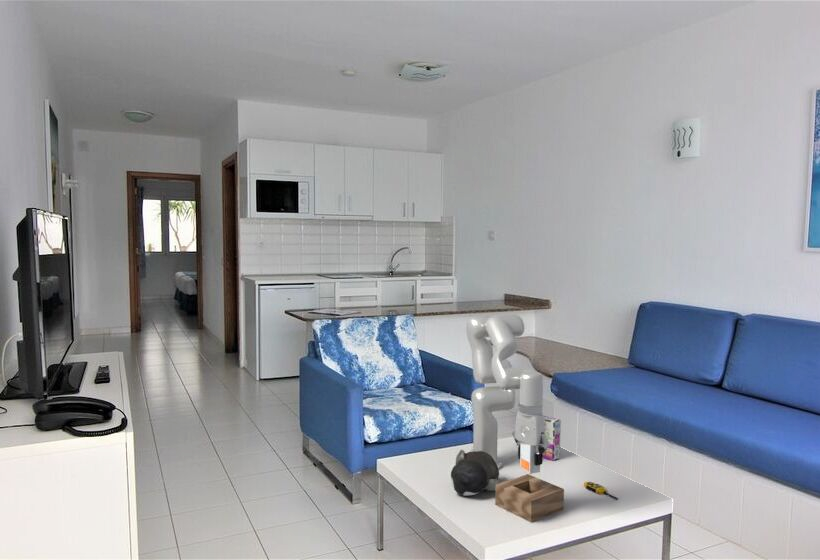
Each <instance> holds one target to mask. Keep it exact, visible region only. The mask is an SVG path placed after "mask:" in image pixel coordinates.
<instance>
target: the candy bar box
mask: <svg viewBox="0 0 820 560" xmlns="http://www.w3.org/2000/svg"><path fill="white" fill-rule="evenodd" d="M544 421H545V437H546V439H547V440H548V442H549V443H550V446H549V447H548V448H547V450H546V451H545V452H544V453H543V459H545V460H549V461H553V462H554V461H557V460H559V459H560V458H561V424H562V423H561V421H562V420H561V419H558V418H555V417H550V416H546V415H544ZM542 445H544V444H542Z"/></svg>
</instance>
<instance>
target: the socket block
mask: <svg viewBox="0 0 820 560" xmlns="http://www.w3.org/2000/svg"><path fill="white" fill-rule="evenodd" d="M494 493H495V497H494V498H495V500H494V504H495V506H497V507H499V508H501V509H503V510H505V511H507V512H509V513H510V514H513V515H516V516H518V517H519V518H521V519H523V520H525V521H527V522H529V523H533V522H536V521H538V520H541V519H543V518H545V517H548V516H550V515H553V514H555V513H558V512H560V511H563V510H564V508H565V506H564V505H565V503H564V502H565V501H564V500H565V499H564V498H565V488H563V487H560V486H557V485H555V484H554V483H551V482H549V481H546V480H544V479H541V478H539V477H536V476H534V475H532V474H529V473H527V474H524V475H521V476H518V477H514V478H511V479H509V480H506V481H502V483H499V484H496V491H494Z"/></svg>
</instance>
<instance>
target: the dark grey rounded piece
mask: <svg viewBox="0 0 820 560" xmlns="http://www.w3.org/2000/svg"><path fill="white" fill-rule="evenodd" d="M499 476H500V469H498V467H497V464H496V462H495V461H494V459H493V458H492V456H491V455H489V454H488V453H486V452H483V451H473V452H470V451H469V452H465V450H463V449H460V450H459V452H457V454H456V458H455V464H454V466H453V467H452V469H451V471H450V481H451V485H452V487H453V489H454V491H455V492H456V494H457V495H459V496H465V497H466V496H473V495H477V494H479V493H481V492H483V491H484V490H487V491H489V492H495V491H496V484H499V483H502V482H503V481H502V480H500V479H499Z"/></svg>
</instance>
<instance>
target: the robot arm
mask: <svg viewBox="0 0 820 560" xmlns="http://www.w3.org/2000/svg"><path fill="white" fill-rule="evenodd" d="M465 327H466V329H465V331H466V337H467V339H468V340H467V341H468V343H469V347H470V348H471V359H472V373H473V379H474V381H475V382H476V383H478V384H483V385H484V384H497V385H498V386H484V387H483V386H482V387H478V388H476V389H474V390H473V391H472V392H471V398H470V401H471V406H472V414H473V424H472V425H473V433H472V434H473V440H472V441H473V442H472V444H473V445H472V446H473V447H472V448H473V449H470V451H469V452H473V451H483V452H486V453H488V454H489V455H491V456H492V458H493V459H494V461H495V462H496V464H497V467H498V469H499V470H500V469H501V467H502V462H501V461H499V460H498V428H499V427H498V426H499V425H498V420H497V419H496V417H495V416H494V414H493V412H500V411H501V412H502V411H510V410H512V409H514V408H515V405H516V390H519V402H518V404H517V405H518V407H519V410H518V411H517V412H516V417H515V426H514V431H512V433H511V434H512V437H513V439H514V441H515V443H516V447H517V459H518V460H520V444H521V442H523V443H525V444H529V445H531V446H534V447H535V450H536V454H535V465H536V466H538V465H540V466H541V465H542V464H544V463H543V459H544V458H543V453H544V452H545V451H546V450H547V448H548V447H549V446H550V443H549V442H548V440H547V439H546V437H545V421H544V416H545V415H544V414H543V405H544V403H543V399H544V398H543V396H544V394H543V393H544V391H543V390H544V377H543V374H542V373H540V372H538V371H536V369H535V368H533V367H531V366H515V367H513V365H512V363H511V362H510V361H509V360H508V358H511V357H512V356H514V355H515V354H516V353H517V351H518V349H519V343H518V340H517V338H518V337H521V336H522V335H523V334H524V332H525V323H524V320H523V319H522V317H521V316H520V315H518V314H495V315H493V314H491V315H490V314H489V315H476V316H472V317H470V318H469V319H468V320H467V322H466V326H465ZM516 337H517V338H516ZM487 338H489V339H490V341H491V343H492V344H491V343H490V341H489V340H488V339H487ZM493 348H494V349H493ZM494 350H495V351H494ZM542 444H544V445H542ZM539 445H540V449H539V447H538V446H539Z"/></svg>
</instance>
